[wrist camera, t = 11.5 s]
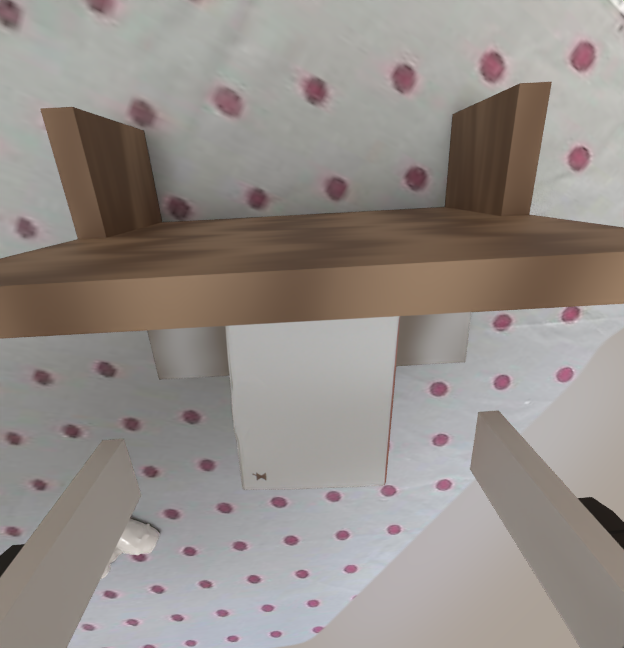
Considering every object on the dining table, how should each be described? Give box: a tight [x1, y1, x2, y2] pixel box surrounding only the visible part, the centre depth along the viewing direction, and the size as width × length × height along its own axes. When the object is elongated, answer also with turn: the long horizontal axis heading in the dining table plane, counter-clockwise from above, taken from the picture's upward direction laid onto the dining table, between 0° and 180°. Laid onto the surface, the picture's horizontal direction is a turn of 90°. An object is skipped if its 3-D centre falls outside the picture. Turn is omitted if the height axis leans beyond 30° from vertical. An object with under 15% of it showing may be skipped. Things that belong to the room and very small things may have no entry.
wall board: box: [0, 82, 624, 380], centre depth 19 cm, size 24×18×18 cm
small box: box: [225, 316, 400, 490], centre depth 20 cm, size 8×6×13 cm
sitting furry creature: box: [101, 518, 160, 579], centre depth 32 cm, size 10×9×12 cm
